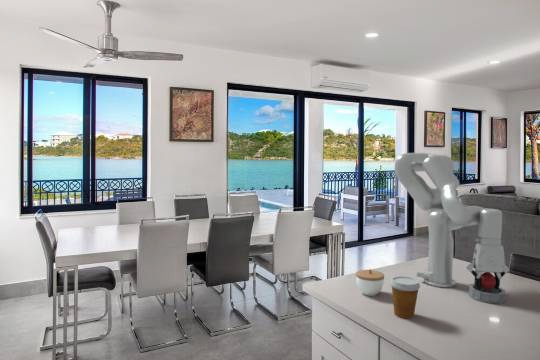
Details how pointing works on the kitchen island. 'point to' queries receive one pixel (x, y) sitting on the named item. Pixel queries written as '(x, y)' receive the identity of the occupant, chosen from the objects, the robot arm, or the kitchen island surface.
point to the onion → (487, 281)
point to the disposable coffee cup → (404, 296)
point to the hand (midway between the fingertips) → (486, 287)
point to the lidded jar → (369, 281)
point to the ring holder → (487, 294)
